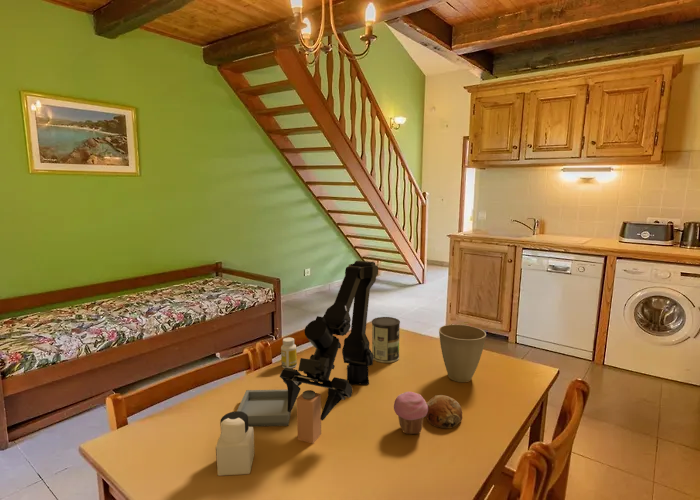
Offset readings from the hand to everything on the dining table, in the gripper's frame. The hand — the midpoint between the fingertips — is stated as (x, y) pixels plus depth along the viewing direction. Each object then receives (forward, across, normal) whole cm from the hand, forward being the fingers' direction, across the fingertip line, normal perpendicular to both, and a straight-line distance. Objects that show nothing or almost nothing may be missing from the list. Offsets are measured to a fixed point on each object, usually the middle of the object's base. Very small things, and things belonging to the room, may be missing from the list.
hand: (304, 415), depth 100 cm
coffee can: (-35, +2, +45) cm, 57 cm away
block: (+3, 0, +6) cm, 7 cm away
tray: (-1, -17, +10) cm, 20 cm away
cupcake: (-6, +23, +16) cm, 28 cm away
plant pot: (-31, +30, +41) cm, 59 cm away
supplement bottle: (-21, -27, +30) cm, 46 cm away
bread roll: (-12, +30, +22) cm, 39 cm away
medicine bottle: (+15, -10, -4) cm, 18 cm away
